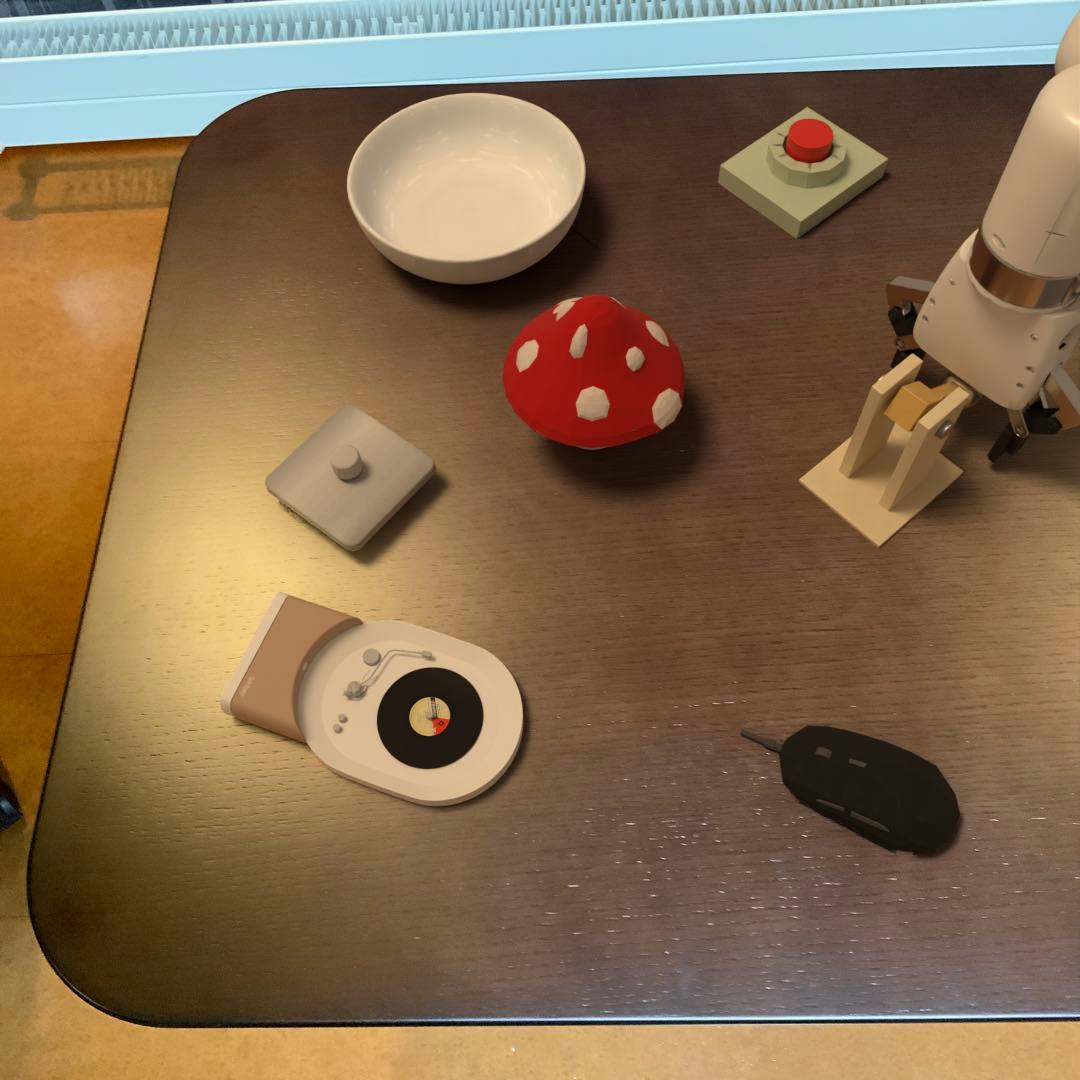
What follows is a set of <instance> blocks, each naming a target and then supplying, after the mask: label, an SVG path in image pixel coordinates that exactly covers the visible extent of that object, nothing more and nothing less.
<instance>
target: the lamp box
mask: <svg viewBox="0 0 1080 1080" xmlns="http://www.w3.org/2000/svg"><path fill="white" fill-rule="evenodd" d="M807 118H811V119H817V120H821V121H823V122H825V123H826V124H828V125H829V126H830V127H831V129H832V130H833V140H832V144H831V148H830V152H829V155H828V156H827V157H826V158H825V159H824V160H822V161H820V162H817V163H811V164H809V163H804V162H799V161H796V160H794V159H793V158H791V157H790V156H789V155H788V154H787V152H786V148H785V147H786V141H787V137H788V132H789V128H790V127H791V125H792V124H793V123H794V122H796V121H798V120H801V119H807ZM888 161H889V158H888V157H887V156H885V155H883V154H882V153H880V152H878V151H877V150H875V149H874V148H872V147H871V146H869V145H867V144H866V143H864V142H863V141H861V140H860V139H858V137H855V136H853V134H850V132H847V131H845V130H844V129H843V128H841V127H840V126H838V125H837V124H835V123H833V122H832V121H830V120H829V119H827V118H825V117H824V116H822V115H821V114H819V113H818V112H816V111H814V110H813V109H811V108H810V107H808V106H807V107H804V108H803V109H802V110H800V111H799V112H797V113H795V115H793V116H792V117H790V118H788V119H787V120H785V121H784V122H783V123H781V124H780V125H778V126H777V127H775V128H774V129H772V130H771V131H769V132H768V133H766V134H764V135H763V136H762V137H760V138H758V139H757V140H755V141H754V142H752V144H749V145H748V146H746V147H745V148H744V149H742V150H741V151H739V152H738V153H736V154H735V155H733V156H732V157H730V158H729V159H727V160H726V161H724V162H723V163H721V164H720V165H719V173H718V179H717V184H719V185H720V186H721V187H723V188H724V189H725V190H727V191H728V192H730V193H731V194H732V195H734V196H736V197H737V198H738V199H740V200H741V201H742V202H744V203H745V204H747V205H748V206H749V207H751V208H752V209H754V210H755V211H756V212H758V213H759V214H760V215H762V216H763V217H765V218H766V219H768V220H769V221H770V222H772V223H774V224H775V225H776V226H778V227H779V228H780V229H782V230H783V231H785V232H786V233H787V234H789V235H790V236H792V237H793V238H795V239H796V240H797V239H799V238H801V236H804V235H805V234H806V233H807V232H809V231H811V230H812V229H813V228H814V227H816V226H818V224H820V223H821V222H822V221H824V220H826V218H828V217H830V216H831V215H832V214H833V213H835V212H836V211H838V210H839V209H841V208H842V207H843V206H845V205H846V204H848V203H849V202H850V201H852V200H853V199H855V198H856V197H857V196H859V195H860V194H861V193H862V192H864V191H865V190H867V189H868V188H870V187H871V186H873V185H874V184H875V183H876V182H878V181H879V180H880V179H882V178H883V177H884V174H885V170H886V168H887V164H888Z"/></svg>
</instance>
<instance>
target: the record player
mask: <svg viewBox="0 0 1080 1080" xmlns="http://www.w3.org/2000/svg"><path fill="white" fill-rule="evenodd" d="M521 696H522V695H521V693H520V690H519V687H518V685H517V681H515V678H514V677H513V675H512V673H511V672H510V670H509V669H508V668H507V666H505V664H504V663H503V662H502V661H501V660H500V659H499V658H497V656H495V655H494V654H493V653H492V652H490V651H488V650H487V649H485V648H483V647H480V646H478V645H475V644H473V643H470V642H468V641H465V640H462V639H459V638H456V637H453V636H451V635H448V634H445V633H442V632H439V631H435V630H433V629H429V628H427V627H423V626H420V625H417V624H413V623H410V622H406V621H402V620H397V619H382V620H381V619H380V620H372V621H368V622H363V621H362V620H361V619H360V618H358V617H356V616H353V615H350V614H348V613H345V612H341V611H338V610H336V609H333V608H330V607H327V606H324V605H320V604H317V603H315V602H311V601H309V600H306V599H303V598H300V597H297V596H294V595H291V594H289V593H285V592H282V591H278V592H277V593H276V594H275V595H274V597H273V599H272V600H271V602H270V605H269V606H268V608H267V610H266V612H265V613H264V615H263V617H262V619H261V621H260V622H259V624H258V626H257V628H256V629H255V632H254V634H253V636H252V637H251V640H250V641H249V643H248V645H247V647H246V649H245V650H244V652H243V654H242V656H241V658H240V659H239V661H238V664H237V665H236V667H235V669H234V670H233V672H232V674H231V676H230V678H229V680H228V682H227V684H226V686H225V687H224V689H223V691H222V693H221V694H220V698H219V706H220V709H221V711H222V712H223V714H225V715H228V716H230V717H233V718H236V719H238V720H241V721H244V722H247V723H249V724H251V725H255V726H258V727H260V728H263V729H266V730H268V731H271V732H274V733H277V734H280V735H283V736H285V737H288V738H290V739H293V740H296V741H299V742H301V743H304V744H307V745H308V747H309V748H310V750H311V751H312V753H313V754H314V756H315V757H316V758H317V760H318V761H319V762H320V763H321V764H322V765H324V767H326V768H327V769H328V770H329V771H331V772H333V773H335V774H336V775H338V776H341V777H343V778H344V779H347V780H350V781H352V782H355V783H357V784H359V785H362V786H365V787H368V788H370V789H373V790H376V791H379V792H381V793H384V794H388V795H390V796H392V797H395V798H398V799H401V800H403V801H407V802H410V803H414V804H417V805H421V806H426V807H444V806H445V807H446V806H452V805H457V804H460V803H463V802H466V801H469V800H472V799H474V798H475V797H477V796H479V795H480V794H482V793H484V792H486V791H487V790H489V788H491V787H492V786H493V785H495V784H497V782H498V781H499V780H500V779H501V778H502V777H503V775H504V774H505V773H506V772H507V770H508V769H509V768H510V766H511V765H512V763H513V761H514V760H515V758H516V756H517V753H518V751H519V748H520V745H521V741H522V737H523V730H524V711H523V702H522V701H523V700H522V697H521Z"/></svg>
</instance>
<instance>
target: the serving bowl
mask: <svg viewBox="0 0 1080 1080" xmlns="http://www.w3.org/2000/svg"><path fill="white" fill-rule="evenodd" d="M346 176H347V177H346V191H347V199H348V202H349V205H350V209H351V210H352V213H353V215H354V217H355V219H356V221H357V222H358V225H359V227H360V229H361V230H362V232H363V233H364V235H365V236H366V238H367V239H368V240H369V242H370V243H371V245H373V247H374V248H375V249H376V250H377V251H378V252H379V253H380V254H381V255H383V256H384V257H385V258H386V259H387V260H388V261H390V262H391V263H392V264H394V265H396V266H398V267H399V268H401V269H403V270H404V271H406V272H408V273H411V274H413V275H416V276H417V277H421V278H423V279H427V280H430V281H435V282H438V283H446V284H452V285H475V284H477V285H478V284H484V283H489V282H494V281H499V280H502V279H505V278H509V277H511V276H513V275H516V274H518V273H521V272H522V271H524V270H526V269H528V268H530V267H532V266H533V265H535V264H536V263H538V262H539V261H541V260H542V259H544V258H545V257H546V256H548V254H550V253H551V252H552V251H553V250H554V249H555V248H556V247H557V246H558V245H559V244H560V242H562V240H563V239H564V238H565V236H566V235H567V233H568V232H569V230H570V228H571V227H572V226H573V223H574V222H575V219H576V217H577V215H578V213H579V210H580V207H581V203H582V199H583V195H584V191H585V186H586V179H587V167H586V160H585V155H584V152H583V149H582V147H581V144H580V143H579V140H578V139H577V137H576V136H575V134H574V133H573V132H572V131H571V129H570V128H569V127H568V126H567V125H566V124H565V123H564V122H563V121H562V120H561V119H559V118H558V117H557V116H556V115H553V114H552V113H551V112H549V111H548V110H546V109H545V108H542V107H540V106H538V105H537V104H535V103H532V102H528V101H526V100H523V99H520V98H517V97H513V96H508V95H503V94H495V93H488V92H465V93H454V94H446V95H442V96H437V97H433V98H429V99H426V100H423V101H420V102H417V103H414V104H411V105H410V106H409V105H408V107H405V108H403V109H401V110H399V111H398V112H395V113H394V114H392V115H390V116H389V117H388V118H386V119H385V120H384V121H381V123H379V124H378V125H377V126H376V127H375V128H374V129H372V131H371V132H370V133H369V134H367V136H366V137H365V138H364V139H363V140H362V142H361V143H360V145H359V146H358V147H357V149H356V151H355V153H354V154H353V156H352V159H351V162H350V164H349V167H348V171H347V175H346Z"/></svg>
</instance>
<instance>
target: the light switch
mask: <svg viewBox="0 0 1080 1080" xmlns="http://www.w3.org/2000/svg"><path fill="white" fill-rule="evenodd" d="M436 470H437V468H436V463H435V460H434V458H433V457H432V456H430V455H428V454H427V453H425V452H424V451H422V450H421V449H419V447H417V446H416V445H414V444H412V443H411V442H409V441H408V440H406V439H405V438H403V437H402V436H401V435H399V434H397V433H396V432H394V431H393V430H391V429H390V428H389V427H387V426H385V424H384V423H383V424H382V423H381V422H380V421H379V420H377V419H376V418H374V417H372V416H371V415H369V414H368V413H366V412H364V411H363V410H362V409H360V408H359V407H357V406H355V405H353V404H345V405H343V406H341V407H340V408H339V409H338V410H336V411H335V412H334V413H333V415H331V416H330V417H329V418H328V419H326V421H324V423H322V424H321V425H320V426H319V428H317V429H316V430H314V432H313V433H312V434H311V435H310V436H309V437H308V438H306V440H304V441H303V442H302V443H301V444H300V445H299V446H298V447H297V448H296V449H295V450H293V451H292V453H291V454H289V455H288V456H287V457H286V458H285V459H284V460H283V461H282V462H281V463H279V464H278V466H276V468H274V469H273V470H272V471H271V472H270V473H269V474H267V476H266V478H265V481H264V485H265V488H266V490H267V493H269V494H270V495H272V497H274V498H276V499H277V500H278V501H280V503H282V504H283V505H285V506H286V507H288V508H289V509H290V510H292V511H293V512H294V513H296V514H297V515H299V516H300V517H301V518H303V519H304V520H306V521H307V522H308V523H310V525H312V526H314V527H315V528H316V529H318V530H319V531H320V532H322V533H323V534H325V536H327V537H328V538H330V539H331V540H333V542H336V543H337V544H338V545H340V546H341V547H342V548H344V549H345V550H346V551H349V552H355V551H359V550H361V549H362V548H363V547H364V546H365V545H366V544H367V543H368V541H370V540H371V539H372V538H373V537H374V535H376V534H377V532H378V531H380V530H381V528H382V527H383V526H384V525H386V523H388V521H390V519H391V518H392V517H394V515H396V513H397V512H399V510H400V509H401V508H402V507H403V506H404V505H405V504H406V503H407V502H408V501H409V500H410V499H411V498H412V497H413V496H414V495H415V494H416V493H417V492H418V491H419V490H420V489H421V487H423V486H424V485H425V484H426V483H427V482H428V481H429V480H430V479H431V478H432V477H433V476H434V475H435V473H436Z"/></svg>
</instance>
